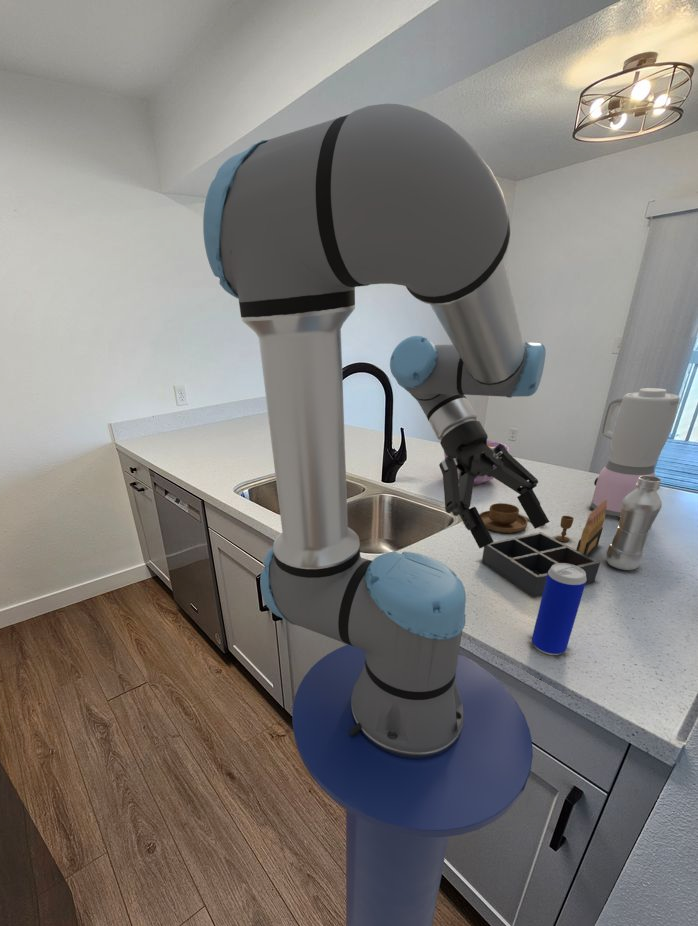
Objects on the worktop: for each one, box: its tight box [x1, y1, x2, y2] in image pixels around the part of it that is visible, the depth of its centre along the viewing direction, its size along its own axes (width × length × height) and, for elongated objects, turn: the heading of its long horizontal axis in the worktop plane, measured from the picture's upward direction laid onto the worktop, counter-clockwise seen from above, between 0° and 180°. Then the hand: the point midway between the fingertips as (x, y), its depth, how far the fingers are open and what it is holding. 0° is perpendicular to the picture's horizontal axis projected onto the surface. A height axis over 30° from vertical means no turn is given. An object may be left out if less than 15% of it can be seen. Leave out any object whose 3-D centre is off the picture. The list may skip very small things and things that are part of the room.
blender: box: [589, 387, 681, 518], centre depth 112 cm, size 16×12×32 cm
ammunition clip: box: [575, 499, 607, 557], centre depth 97 cm, size 11×2×12 cm, turn 133°
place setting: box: [479, 502, 575, 543], centre depth 111 cm, size 18×20×6 cm
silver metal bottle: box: [605, 476, 663, 571], centre depth 90 cm, size 6×7×20 cm
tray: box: [481, 531, 601, 598], centre depth 93 cm, size 15×15×5 cm
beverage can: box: [531, 563, 587, 656], centre depth 70 cm, size 5×5×15 cm
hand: (515, 535), depth 74 cm, fingers open, 13 cm apart
